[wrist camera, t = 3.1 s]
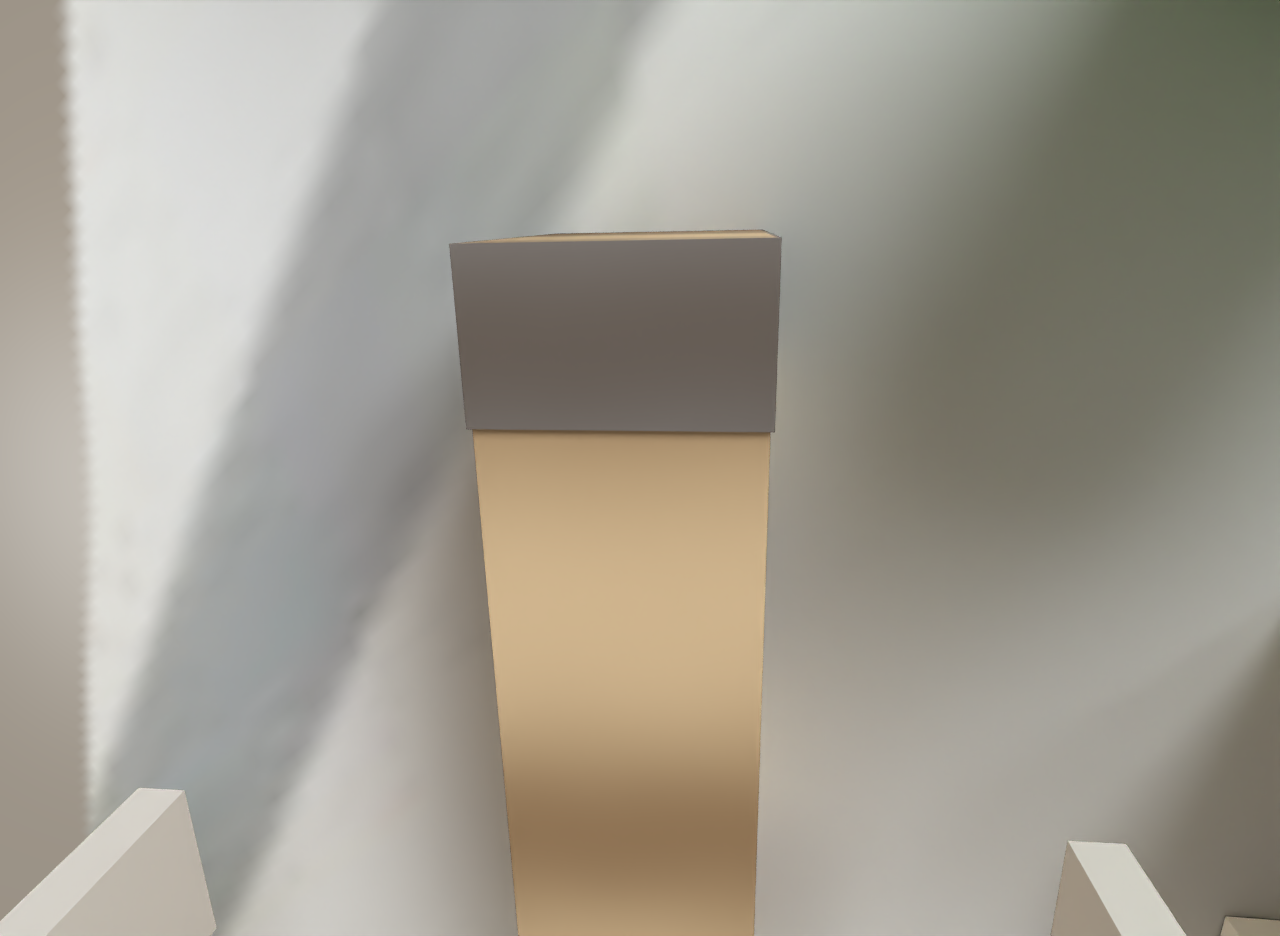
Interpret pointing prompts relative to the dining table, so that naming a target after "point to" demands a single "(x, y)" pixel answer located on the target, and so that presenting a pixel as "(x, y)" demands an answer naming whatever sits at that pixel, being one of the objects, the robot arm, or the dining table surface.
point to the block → (625, 564)
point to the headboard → (1250, 927)
